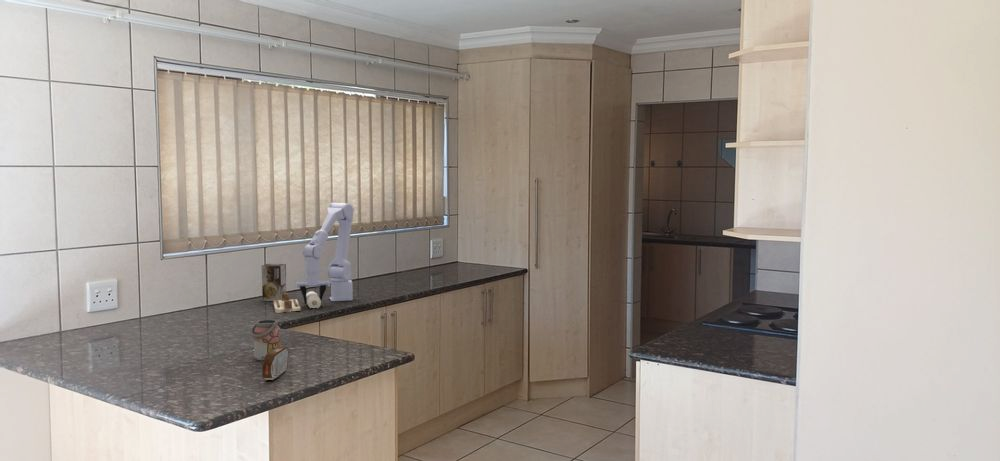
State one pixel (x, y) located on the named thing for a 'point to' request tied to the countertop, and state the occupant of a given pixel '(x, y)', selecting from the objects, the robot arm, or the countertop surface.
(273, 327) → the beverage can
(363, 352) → the countertop surface
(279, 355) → the tin
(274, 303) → the roll holder
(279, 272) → the coffee box
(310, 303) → the paper roll
